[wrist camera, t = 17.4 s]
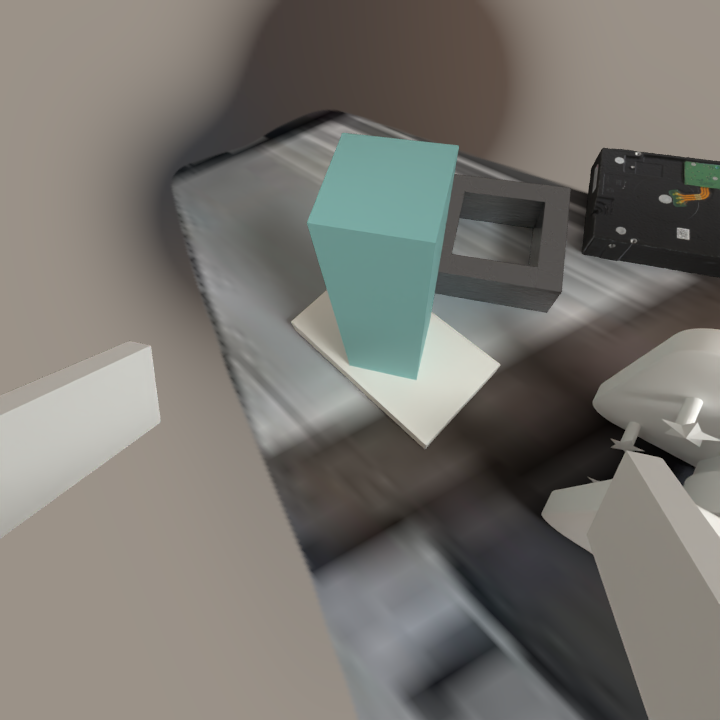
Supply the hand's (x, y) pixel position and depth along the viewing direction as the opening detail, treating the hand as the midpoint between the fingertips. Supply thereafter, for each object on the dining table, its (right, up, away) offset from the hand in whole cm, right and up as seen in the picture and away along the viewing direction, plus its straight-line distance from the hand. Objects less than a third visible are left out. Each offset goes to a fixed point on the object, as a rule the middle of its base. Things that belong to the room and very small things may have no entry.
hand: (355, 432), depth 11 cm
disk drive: (+27, +13, +23) cm, 38 cm away
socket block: (+11, +11, +22) cm, 28 cm away
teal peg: (+2, +3, +18) cm, 19 cm away
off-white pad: (+3, +3, +20) cm, 20 cm away
